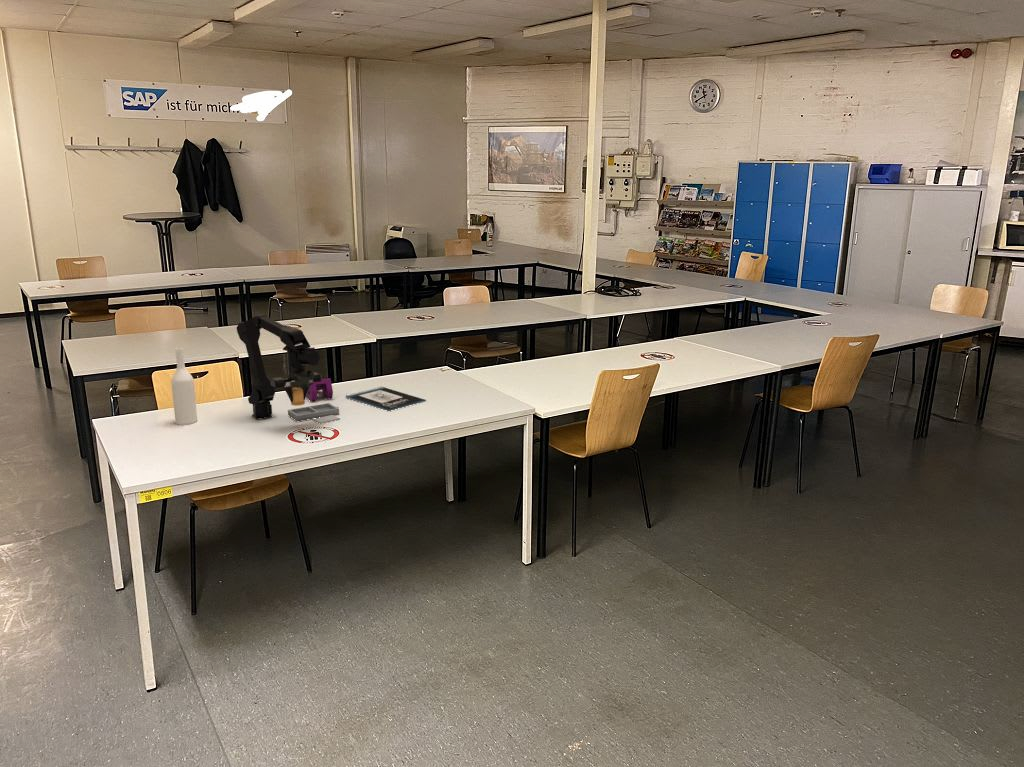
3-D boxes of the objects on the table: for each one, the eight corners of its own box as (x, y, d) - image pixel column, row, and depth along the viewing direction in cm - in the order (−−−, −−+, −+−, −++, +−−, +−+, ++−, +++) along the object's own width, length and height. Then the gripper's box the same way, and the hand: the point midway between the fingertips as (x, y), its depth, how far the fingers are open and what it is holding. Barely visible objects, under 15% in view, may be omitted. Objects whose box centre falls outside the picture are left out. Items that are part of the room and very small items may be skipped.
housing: (297, 421, 306) (296, 416, 305) (288, 415, 313) (287, 409, 313) (339, 414, 316) (338, 408, 315) (329, 408, 324) (328, 402, 323)
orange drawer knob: (294, 406, 296) (293, 391, 294) (289, 403, 300) (288, 388, 298) (306, 404, 299) (306, 389, 297) (301, 401, 303) (300, 386, 301)
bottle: (199, 418, 308) (192, 345, 301) (194, 424, 301) (187, 350, 293) (178, 419, 307) (170, 346, 299) (173, 425, 299) (165, 350, 292)
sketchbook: (388, 413, 321) (388, 408, 320) (344, 399, 340) (344, 395, 339) (426, 402, 337) (426, 397, 336) (382, 389, 355) (381, 385, 355)
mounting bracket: (303, 407, 346) (312, 399, 330) (299, 389, 347) (309, 380, 331) (323, 404, 350) (334, 396, 335) (320, 386, 351) (330, 378, 336)
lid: (320, 425, 304) (320, 422, 303) (312, 422, 308) (312, 419, 307) (340, 420, 310) (339, 418, 309) (332, 417, 314) (331, 414, 313)
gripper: (279, 369, 283) (282, 410, 288) (326, 363, 294) (328, 402, 298) (268, 364, 292) (271, 403, 296) (315, 357, 303) (317, 395, 307)
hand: (297, 401), depth 299 cm, fingers closed on orange drawer knob, 4 cm apart
